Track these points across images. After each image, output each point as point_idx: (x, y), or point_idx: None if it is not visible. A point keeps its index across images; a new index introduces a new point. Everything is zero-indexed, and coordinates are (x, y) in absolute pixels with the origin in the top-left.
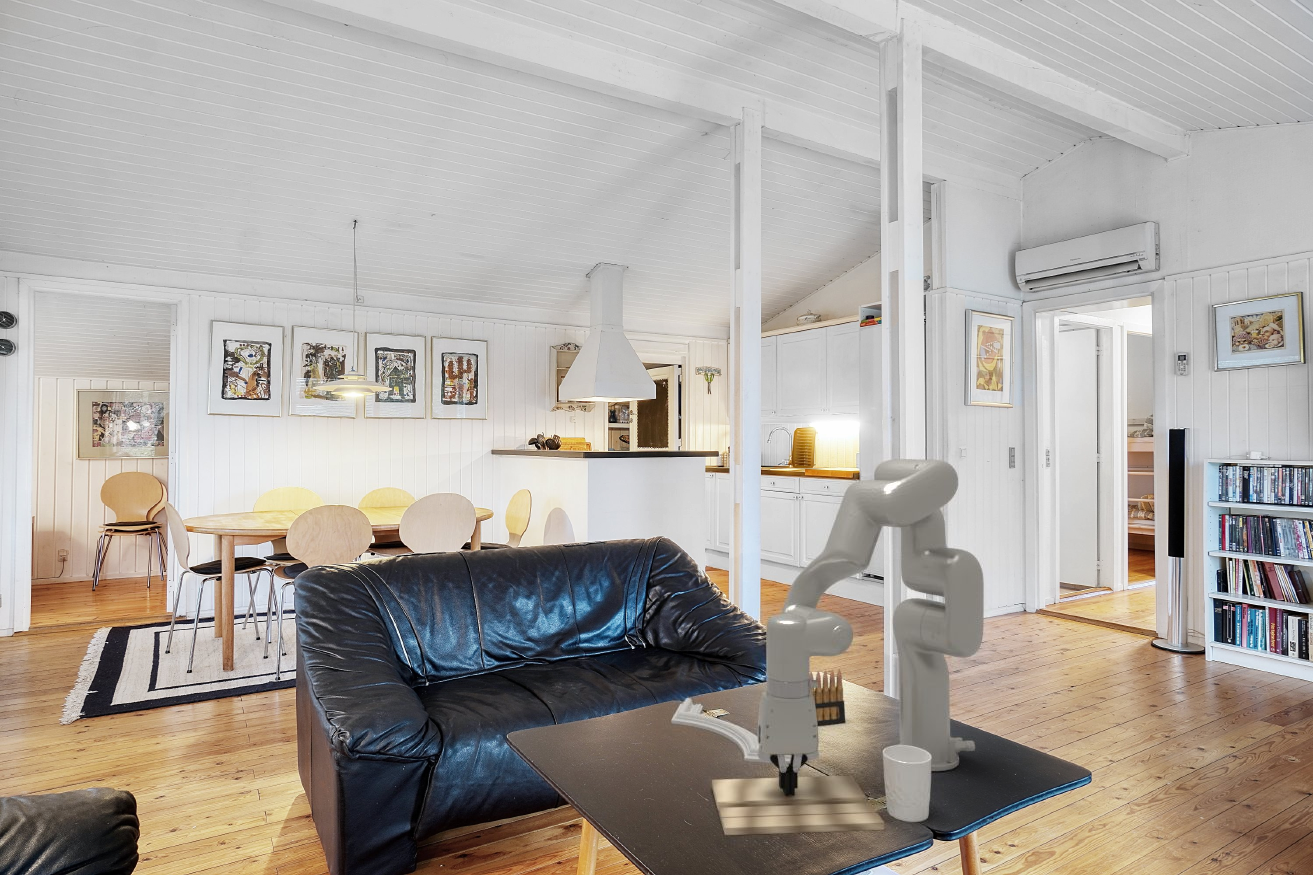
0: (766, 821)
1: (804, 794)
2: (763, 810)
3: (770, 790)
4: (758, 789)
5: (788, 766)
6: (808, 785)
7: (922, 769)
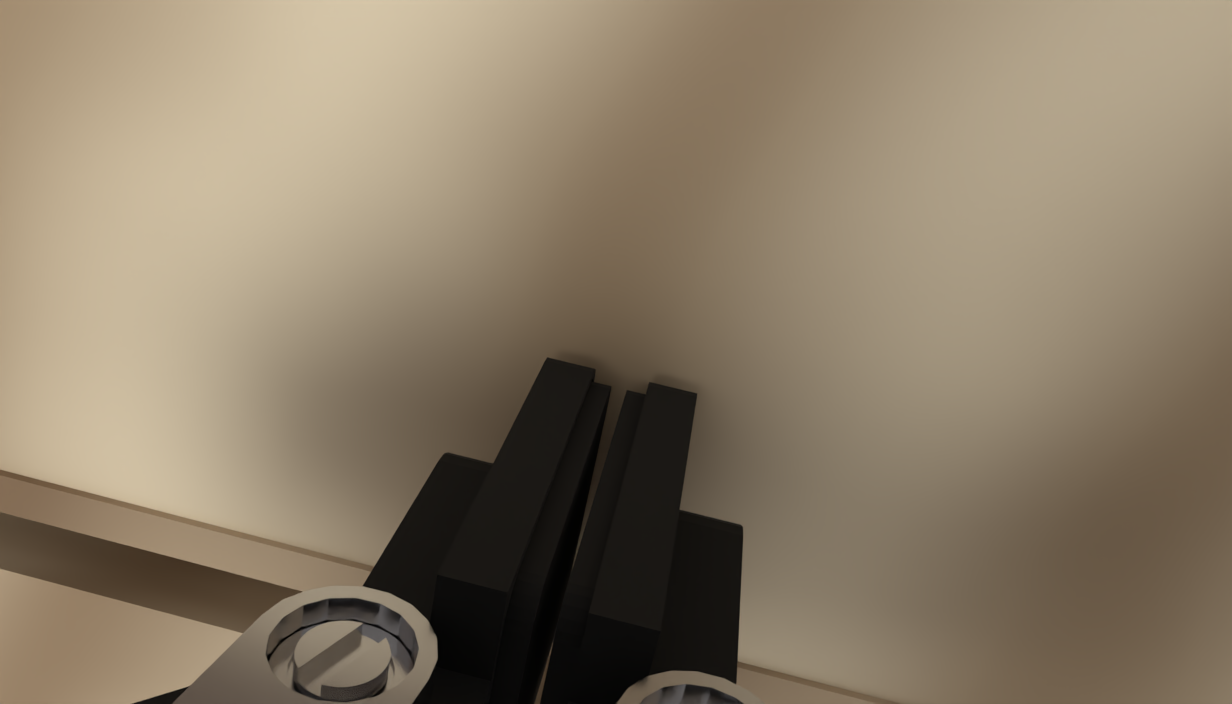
0: None
1: (836, 558)
2: (158, 693)
3: (370, 300)
4: (190, 212)
5: (584, 656)
6: (1084, 341)
7: None
